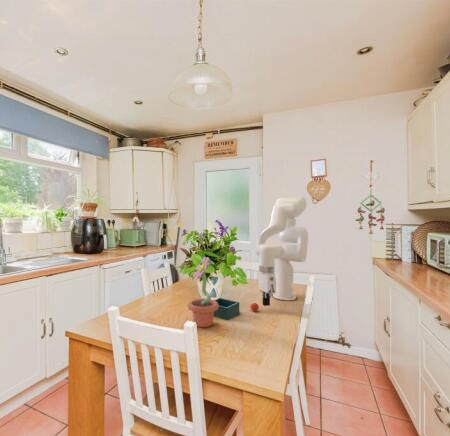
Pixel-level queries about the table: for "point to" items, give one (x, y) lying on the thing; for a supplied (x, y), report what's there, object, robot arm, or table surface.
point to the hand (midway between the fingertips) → (266, 305)
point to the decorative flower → (203, 307)
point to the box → (226, 308)
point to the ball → (254, 306)
